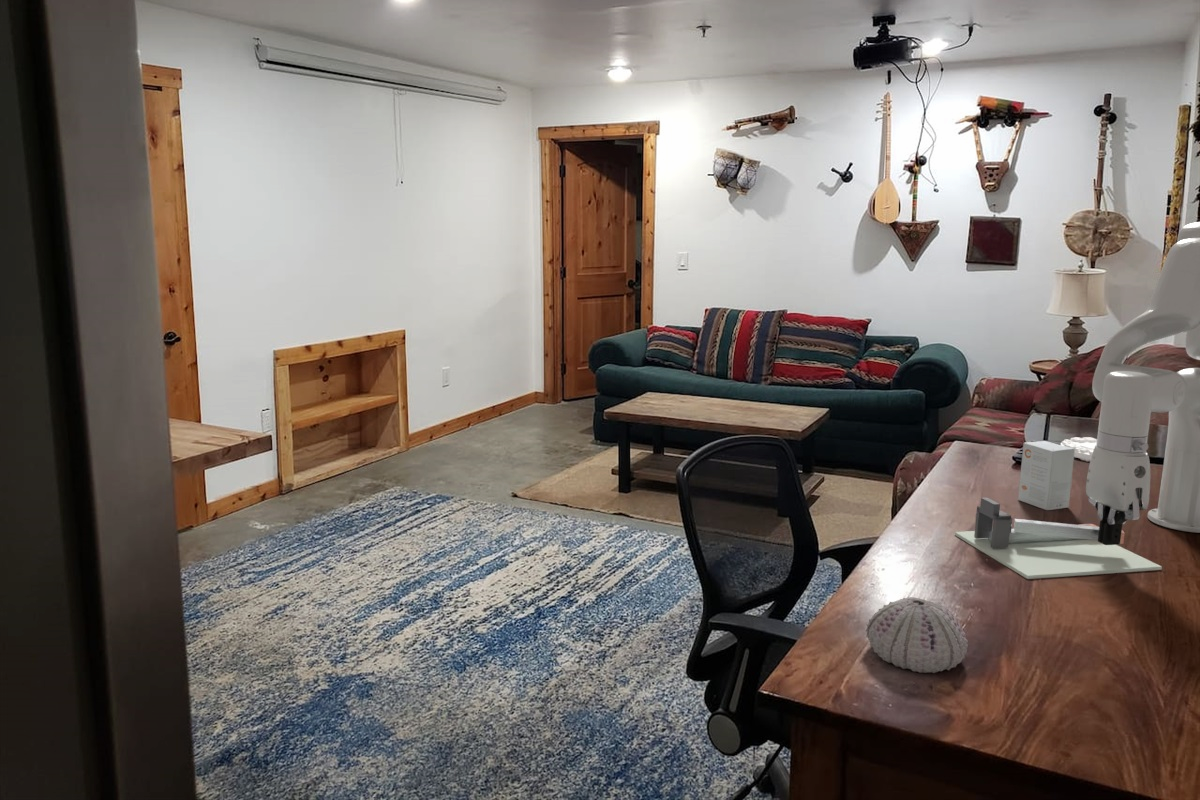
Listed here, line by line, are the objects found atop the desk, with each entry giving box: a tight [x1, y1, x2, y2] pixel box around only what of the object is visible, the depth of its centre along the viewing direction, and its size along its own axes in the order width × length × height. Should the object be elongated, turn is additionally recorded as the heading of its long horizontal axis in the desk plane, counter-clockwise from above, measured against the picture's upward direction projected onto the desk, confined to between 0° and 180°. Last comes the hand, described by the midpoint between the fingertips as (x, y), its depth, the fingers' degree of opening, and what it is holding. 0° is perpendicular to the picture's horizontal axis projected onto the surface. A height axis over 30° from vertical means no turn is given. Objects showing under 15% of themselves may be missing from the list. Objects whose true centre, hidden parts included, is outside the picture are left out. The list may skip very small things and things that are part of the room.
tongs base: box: [988, 517, 1099, 544], centre depth 167 cm, size 22×3×6 cm, turn 100°
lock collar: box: [974, 497, 1012, 548], centre depth 165 cm, size 3×6×8 cm, turn 10°
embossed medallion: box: [1059, 436, 1149, 463], centre depth 233 cm, size 20×20×3 cm
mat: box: [954, 530, 1163, 580], centre depth 163 cm, size 26×22×1 cm
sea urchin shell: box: [865, 596, 969, 674], centre depth 123 cm, size 13×14×8 cm
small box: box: [1017, 440, 1075, 511], centre depth 190 cm, size 8×6×13 cm
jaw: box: [1013, 518, 1126, 545], centre depth 162 cm, size 18×3×2 cm, turn 72°
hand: (1108, 543), depth 157 cm, fingers closed
